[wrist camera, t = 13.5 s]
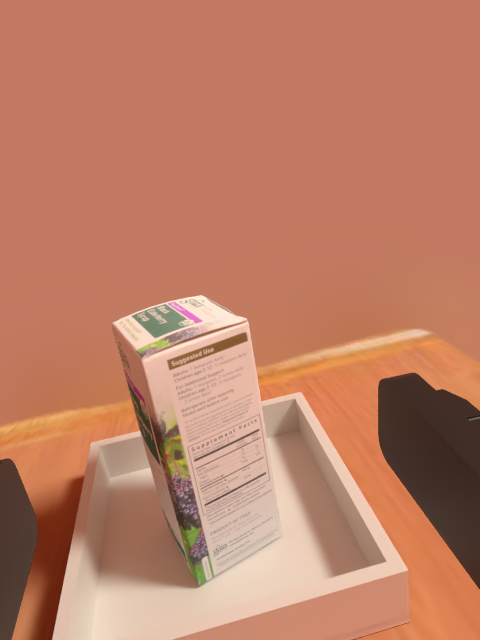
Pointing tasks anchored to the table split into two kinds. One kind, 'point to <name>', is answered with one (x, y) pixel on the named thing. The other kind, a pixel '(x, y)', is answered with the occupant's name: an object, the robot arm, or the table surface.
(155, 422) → the syrup box
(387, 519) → the table surface
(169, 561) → the tray
